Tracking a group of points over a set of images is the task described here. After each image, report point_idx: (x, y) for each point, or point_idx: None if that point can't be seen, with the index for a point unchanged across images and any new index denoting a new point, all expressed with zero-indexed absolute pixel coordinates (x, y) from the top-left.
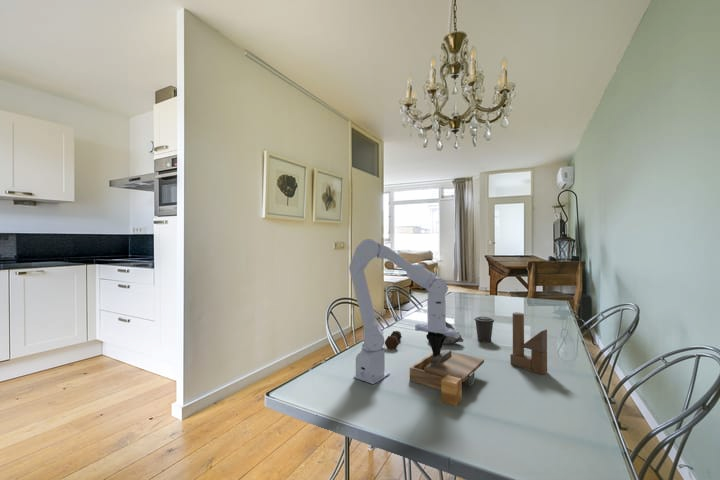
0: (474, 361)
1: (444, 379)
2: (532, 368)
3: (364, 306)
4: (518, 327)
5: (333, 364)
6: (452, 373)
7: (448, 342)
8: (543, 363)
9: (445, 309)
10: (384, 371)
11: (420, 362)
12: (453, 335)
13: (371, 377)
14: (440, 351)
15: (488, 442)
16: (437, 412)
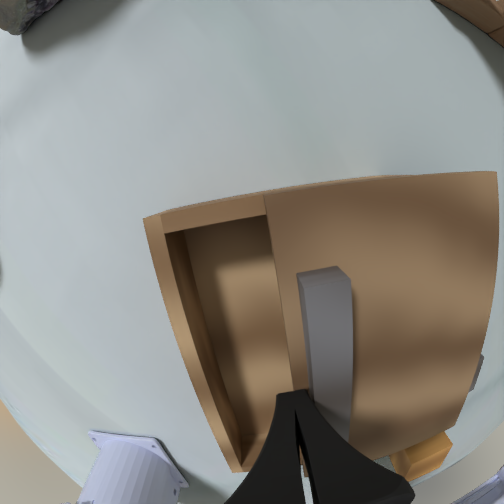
0: (479, 251)
1: (409, 479)
2: (496, 34)
3: None
4: None
5: (43, 441)
6: (419, 434)
7: None
8: None
9: None
10: (155, 461)
11: (223, 427)
12: (485, 496)
13: (178, 494)
14: (315, 406)
15: (467, 436)
16: (386, 461)
